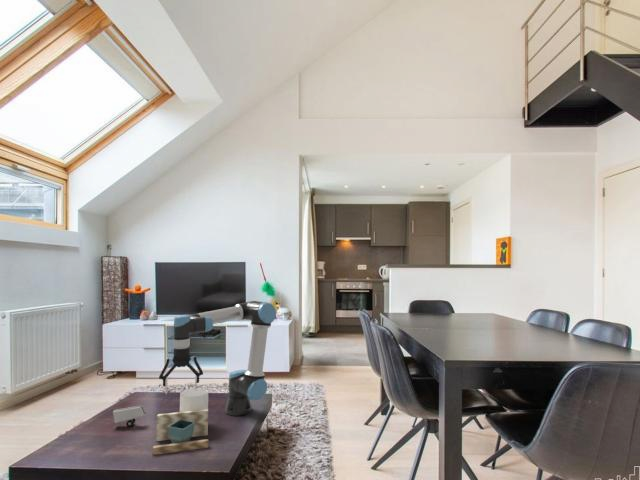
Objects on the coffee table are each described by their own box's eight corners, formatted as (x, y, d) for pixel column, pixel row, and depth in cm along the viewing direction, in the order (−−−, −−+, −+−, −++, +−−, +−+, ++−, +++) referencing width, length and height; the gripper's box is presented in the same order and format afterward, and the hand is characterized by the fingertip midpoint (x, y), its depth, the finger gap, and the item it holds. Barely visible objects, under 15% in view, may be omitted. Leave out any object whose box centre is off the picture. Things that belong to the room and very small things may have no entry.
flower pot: (194, 440, 185) (195, 421, 186) (182, 448, 177) (183, 429, 177) (179, 438, 188) (180, 419, 188) (167, 446, 179) (168, 426, 180)
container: (173, 427, 201) (175, 392, 202) (198, 419, 212) (199, 386, 213) (188, 435, 192) (189, 398, 193) (212, 426, 202) (213, 391, 204)
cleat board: (207, 433, 193) (208, 409, 194) (208, 447, 178) (208, 421, 179) (156, 439, 186) (157, 414, 187) (152, 454, 171) (153, 427, 172)
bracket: (115, 430, 199) (145, 423, 201) (112, 412, 199) (141, 404, 202) (118, 427, 203) (147, 420, 205) (115, 409, 203) (144, 402, 206)
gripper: (207, 343, 194) (207, 386, 193) (155, 347, 186) (154, 391, 185) (208, 346, 187) (208, 390, 186) (153, 351, 179) (152, 396, 178)
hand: (181, 391), depth 186 cm, fingers open, 13 cm apart
